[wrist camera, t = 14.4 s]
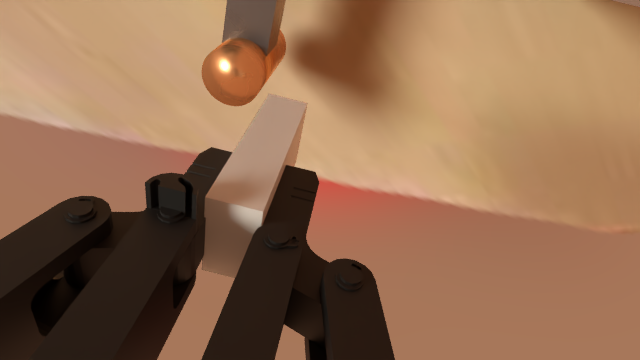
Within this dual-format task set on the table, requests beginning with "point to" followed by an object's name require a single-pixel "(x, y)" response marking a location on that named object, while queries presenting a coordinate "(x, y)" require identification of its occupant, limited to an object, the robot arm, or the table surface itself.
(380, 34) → the table surface
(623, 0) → the grey piece
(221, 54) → the lever
